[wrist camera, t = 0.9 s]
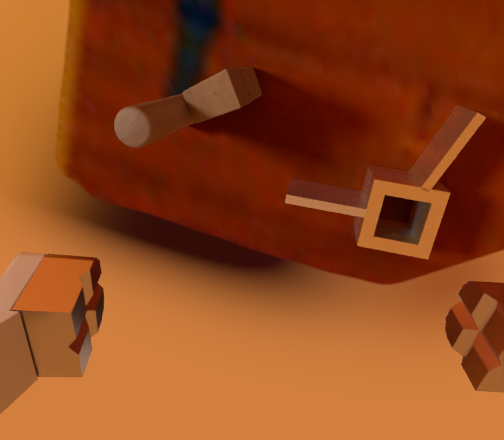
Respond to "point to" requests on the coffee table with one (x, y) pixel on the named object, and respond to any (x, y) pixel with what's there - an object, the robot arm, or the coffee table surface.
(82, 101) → the coffee table surface
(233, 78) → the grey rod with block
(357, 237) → the cream winged socket block
